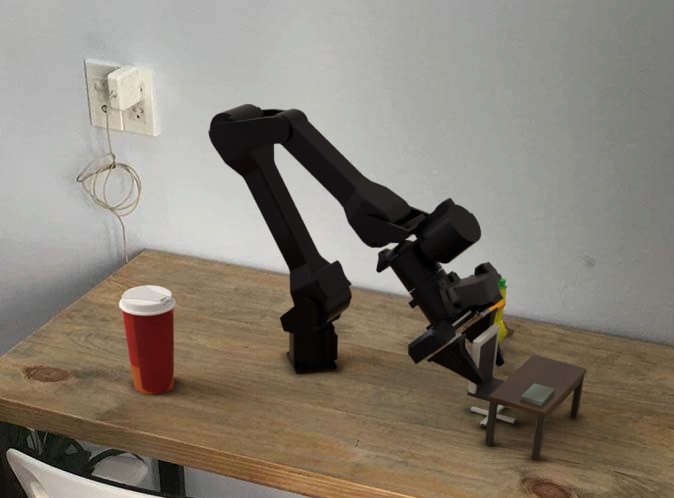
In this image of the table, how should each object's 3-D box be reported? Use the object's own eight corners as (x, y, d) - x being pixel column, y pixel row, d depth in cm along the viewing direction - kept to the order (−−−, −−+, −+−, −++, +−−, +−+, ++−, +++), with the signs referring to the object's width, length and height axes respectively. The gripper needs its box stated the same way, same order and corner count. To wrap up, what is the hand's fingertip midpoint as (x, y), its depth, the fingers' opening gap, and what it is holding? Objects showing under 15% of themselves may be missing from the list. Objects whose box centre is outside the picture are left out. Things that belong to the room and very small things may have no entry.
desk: (483, 445, 151) (488, 391, 146) (527, 400, 162) (534, 349, 157) (537, 462, 148) (545, 408, 143) (579, 415, 159) (587, 364, 154)
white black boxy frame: (458, 421, 156) (465, 340, 149) (480, 400, 161) (488, 321, 154) (505, 435, 153) (514, 353, 146) (526, 414, 158) (536, 334, 152)
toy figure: (492, 364, 171) (500, 291, 164) (470, 358, 173) (478, 285, 166) (509, 348, 176) (518, 276, 169) (488, 342, 177) (496, 271, 171)
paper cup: (191, 380, 163) (186, 290, 155) (161, 402, 157) (154, 310, 149) (146, 368, 166) (138, 279, 158) (115, 390, 160) (105, 298, 152)
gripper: (434, 271, 140) (505, 373, 142) (497, 229, 154) (561, 322, 155) (377, 315, 147) (445, 411, 149) (441, 270, 161) (503, 359, 163)
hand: (491, 374), depth 154 cm, fingers closed on white black boxy frame, 6 cm apart
